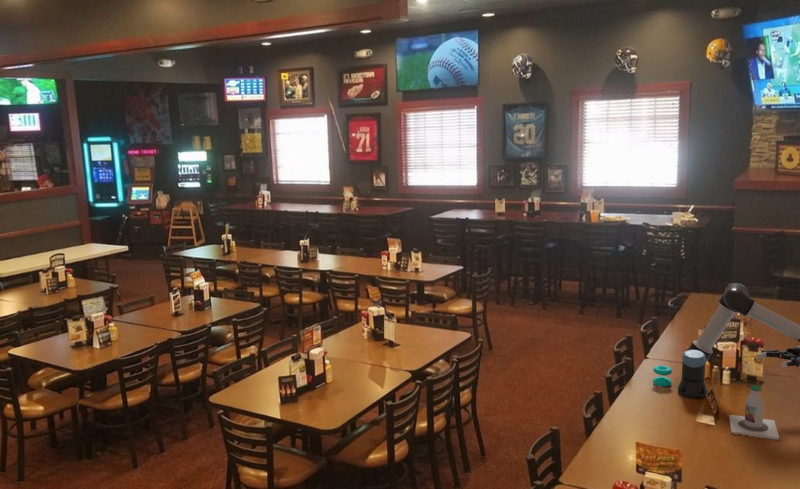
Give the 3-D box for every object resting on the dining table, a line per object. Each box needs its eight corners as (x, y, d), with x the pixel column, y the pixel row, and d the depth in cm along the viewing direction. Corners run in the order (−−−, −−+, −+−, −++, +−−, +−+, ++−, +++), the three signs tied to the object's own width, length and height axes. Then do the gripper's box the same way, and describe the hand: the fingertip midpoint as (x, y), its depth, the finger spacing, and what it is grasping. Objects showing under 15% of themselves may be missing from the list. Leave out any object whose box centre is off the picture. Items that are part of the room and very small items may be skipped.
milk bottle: (758, 421, 325) (760, 383, 322) (765, 428, 318) (767, 389, 314) (741, 421, 326) (744, 383, 323) (748, 428, 319) (750, 389, 315)
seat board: (731, 433, 317) (731, 430, 317) (729, 416, 335) (729, 414, 335) (778, 440, 309) (779, 437, 309) (774, 422, 327) (774, 419, 327)
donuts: (676, 368, 376) (663, 372, 372) (675, 385, 377) (662, 388, 373) (662, 363, 385) (649, 366, 381) (661, 379, 386) (649, 383, 382)
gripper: (819, 368, 332) (792, 376, 323) (773, 353, 355) (746, 360, 346) (821, 354, 331) (793, 361, 322) (774, 340, 353) (747, 346, 344)
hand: (769, 360), depth 334 cm, fingers open, 13 cm apart
